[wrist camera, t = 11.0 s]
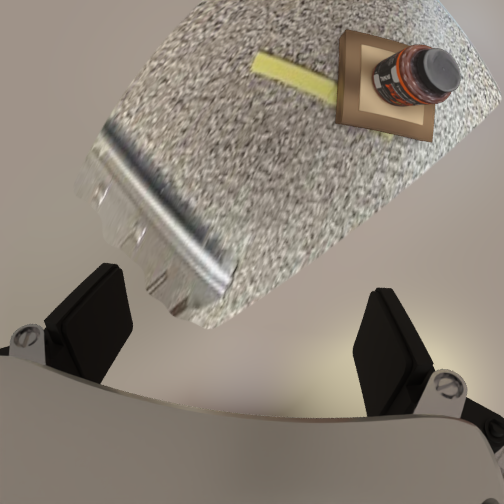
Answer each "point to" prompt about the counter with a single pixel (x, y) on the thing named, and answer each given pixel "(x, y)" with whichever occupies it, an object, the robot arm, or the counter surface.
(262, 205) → the counter surface
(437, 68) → the supplement bottle
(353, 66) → the base slab
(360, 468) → the robot arm
